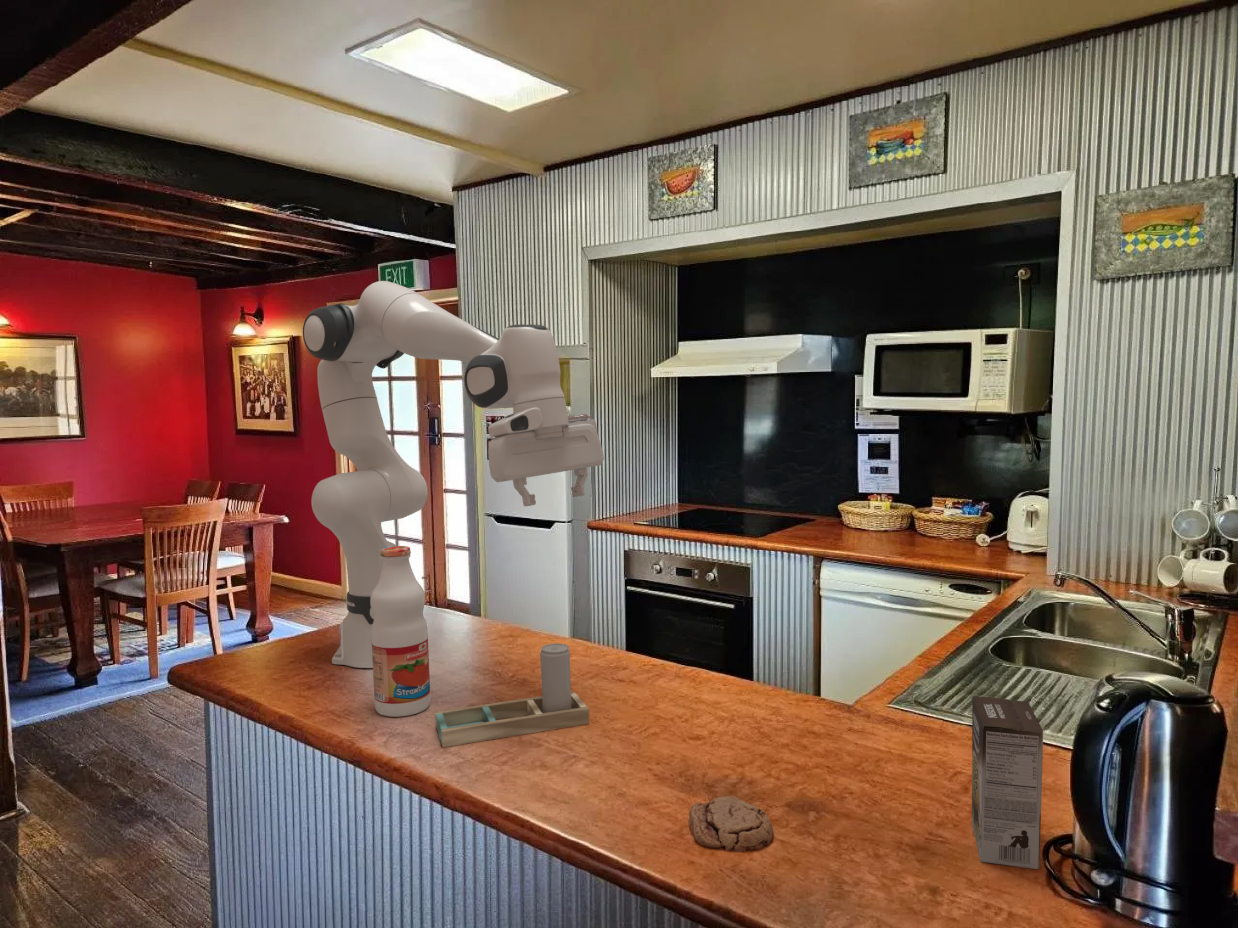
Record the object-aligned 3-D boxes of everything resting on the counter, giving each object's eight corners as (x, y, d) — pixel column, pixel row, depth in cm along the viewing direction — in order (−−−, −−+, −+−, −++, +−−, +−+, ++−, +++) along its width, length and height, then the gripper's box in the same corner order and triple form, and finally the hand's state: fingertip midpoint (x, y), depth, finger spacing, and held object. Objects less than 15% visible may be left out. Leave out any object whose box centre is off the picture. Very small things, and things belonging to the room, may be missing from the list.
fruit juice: (400, 694, 151) (392, 541, 148) (442, 701, 146) (435, 544, 144) (363, 713, 142) (354, 551, 140) (406, 721, 138) (398, 555, 136)
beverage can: (573, 712, 140) (571, 643, 139) (569, 724, 135) (567, 652, 134) (545, 712, 141) (543, 642, 139) (539, 723, 136) (537, 652, 135)
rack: (435, 726, 136) (435, 711, 135) (574, 705, 143) (574, 691, 143) (442, 747, 128) (442, 731, 127) (589, 723, 135) (588, 708, 135)
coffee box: (969, 822, 102) (971, 694, 101) (1026, 828, 101) (1029, 699, 99) (978, 862, 94) (980, 723, 92) (1041, 870, 92) (1044, 729, 90)
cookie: (763, 862, 95) (763, 837, 95) (675, 844, 99) (675, 820, 99) (781, 820, 104) (781, 797, 104) (700, 805, 109) (700, 783, 108)
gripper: (584, 415, 147) (596, 492, 148) (478, 428, 136) (492, 511, 136) (603, 410, 142) (616, 490, 142) (495, 423, 131) (509, 510, 131)
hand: (554, 501), depth 139 cm, fingers open, 8 cm apart
